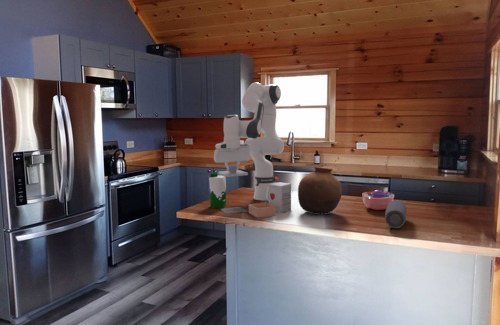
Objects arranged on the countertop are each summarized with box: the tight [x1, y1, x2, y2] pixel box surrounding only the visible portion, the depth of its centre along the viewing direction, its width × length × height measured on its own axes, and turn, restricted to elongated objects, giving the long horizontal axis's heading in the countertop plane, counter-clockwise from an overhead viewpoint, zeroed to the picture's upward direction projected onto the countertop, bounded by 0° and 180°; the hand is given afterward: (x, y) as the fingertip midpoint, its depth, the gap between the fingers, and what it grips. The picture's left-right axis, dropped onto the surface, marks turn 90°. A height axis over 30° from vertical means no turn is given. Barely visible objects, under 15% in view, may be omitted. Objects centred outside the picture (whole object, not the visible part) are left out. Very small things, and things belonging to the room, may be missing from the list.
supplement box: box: [268, 181, 292, 214], centre depth 210 cm, size 9×9×15 cm
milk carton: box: [208, 172, 227, 209], centre depth 220 cm, size 9×9×20 cm
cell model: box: [361, 189, 395, 211], centre depth 210 cm, size 17×20×11 cm
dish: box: [248, 202, 277, 219], centre depth 202 cm, size 11×11×5 cm
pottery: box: [297, 166, 343, 215], centre depth 202 cm, size 23×23×25 cm
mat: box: [219, 206, 248, 214], centre depth 212 cm, size 12×12×1 cm
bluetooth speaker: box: [384, 199, 408, 229], centre depth 180 cm, size 23×9×10 cm, turn 157°
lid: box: [217, 164, 249, 178], centre depth 209 cm, size 13×13×5 cm
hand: (232, 169), depth 209 cm, fingers closed on lid, 3 cm apart
